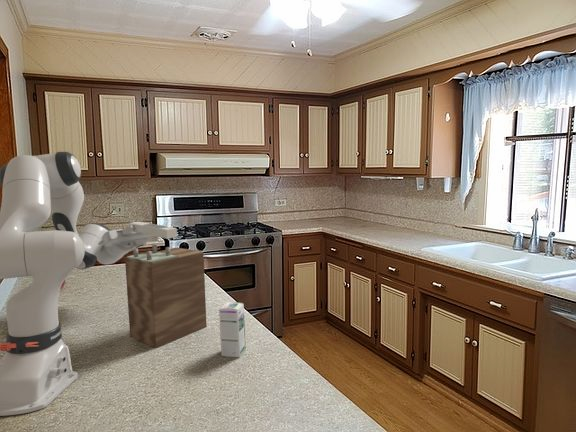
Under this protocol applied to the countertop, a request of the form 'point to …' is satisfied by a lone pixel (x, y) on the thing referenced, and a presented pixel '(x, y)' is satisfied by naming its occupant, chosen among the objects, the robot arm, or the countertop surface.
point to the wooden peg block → (165, 294)
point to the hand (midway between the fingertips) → (140, 226)
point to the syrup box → (232, 329)
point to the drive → (154, 230)
